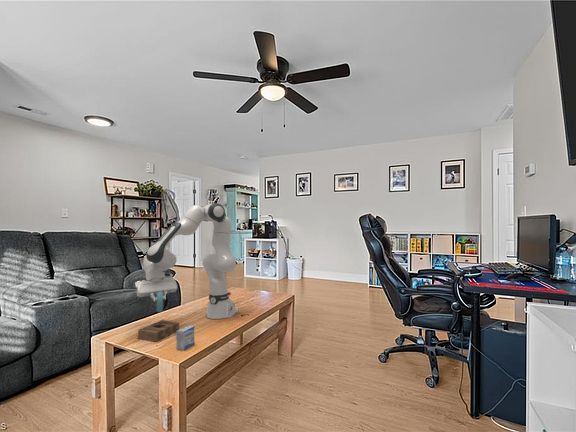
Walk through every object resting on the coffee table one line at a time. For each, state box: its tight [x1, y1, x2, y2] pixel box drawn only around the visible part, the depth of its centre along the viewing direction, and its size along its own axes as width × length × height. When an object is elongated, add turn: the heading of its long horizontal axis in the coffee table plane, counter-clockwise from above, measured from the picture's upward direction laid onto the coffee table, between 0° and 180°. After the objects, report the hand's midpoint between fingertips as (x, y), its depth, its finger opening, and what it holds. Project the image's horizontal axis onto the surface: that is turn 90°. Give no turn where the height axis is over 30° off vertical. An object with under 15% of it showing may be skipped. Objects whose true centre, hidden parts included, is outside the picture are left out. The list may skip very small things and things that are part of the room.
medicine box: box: [175, 325, 195, 351], centre depth 138 cm, size 8×4×9 cm, turn 160°
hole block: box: [137, 319, 180, 343], centre depth 153 cm, size 16×12×4 cm
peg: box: [156, 292, 164, 313], centre depth 153 cm, size 3×3×10 cm
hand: (160, 300), depth 153 cm, fingers closed on peg, 3 cm apart
